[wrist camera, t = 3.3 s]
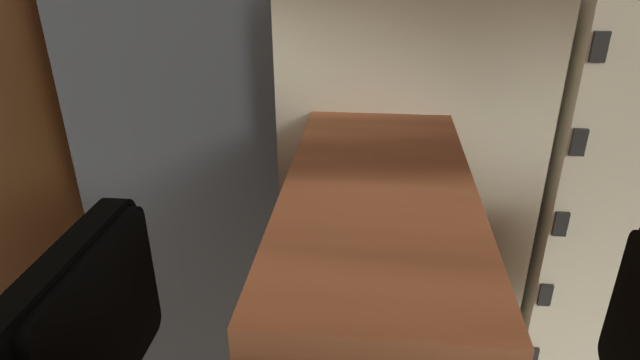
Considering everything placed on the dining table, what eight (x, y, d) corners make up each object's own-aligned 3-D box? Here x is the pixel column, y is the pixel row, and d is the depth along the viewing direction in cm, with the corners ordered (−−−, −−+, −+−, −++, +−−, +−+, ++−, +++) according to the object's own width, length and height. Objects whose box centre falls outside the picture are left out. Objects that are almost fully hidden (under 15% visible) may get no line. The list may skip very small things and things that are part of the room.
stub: (277, -14, 11) (106, 84, 4) (569, -13, 11) (916, 103, 4) (291, 345, 16) (216, 683, 9) (499, 360, 15) (601, 737, 8)
